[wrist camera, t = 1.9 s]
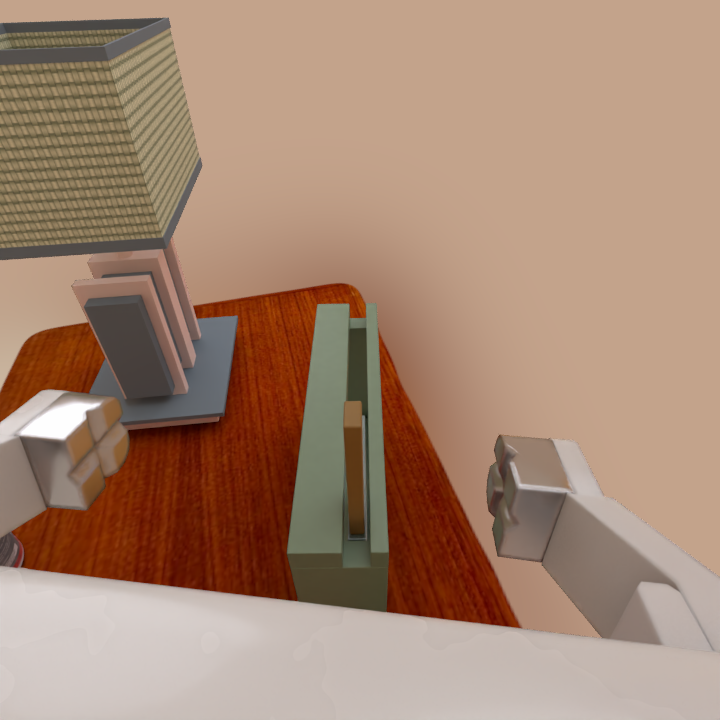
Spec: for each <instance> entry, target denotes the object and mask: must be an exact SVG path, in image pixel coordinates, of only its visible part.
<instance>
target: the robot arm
mask: <svg viewBox="0 0 720 720" xmlns="http://www.w3.org/2000/svg"><path fill="white" fill-rule="evenodd" d="M122 415H123V409H122V406H121V403H120V400H118V399H117V398H115V397H112V396H104V395H96V394H87V393H79V392H68V391H60V390H50V389H49V390H43V391H40V392H39V393H38V394H37V395H35V396H34V397H33V398H31V399H30V400H29V401H28V402H26V403H25V404H24V405H22V406H21V407H20V408H19V409H17V410H16V411H15V412H13V413H12V414H11V415H10V416H8V417H7V418H6V419H4V420H3V421H2V422H1V423H0V538H1V537H3V536H5V535H6V534H8V533H9V532H11V531H13V530H14V529H16V528H17V527H19V526H21V525H22V524H24V523H25V522H27V521H29V520H30V519H32V518H33V517H35V516H37V515H38V514H40V513H41V512H43V511H45V510H46V509H47V508H46V507H52V508H64V509H76V510H88V509H89V508H90V506H91V505H92V504H93V502H94V501H95V500H96V499H97V497H98V496H99V495H100V494H101V492H102V491H103V490H104V489H105V487H106V485H105V478H107V477H109V476H111V475H113V474H115V473H117V472H118V471H119V469H120V468H121V467H122V465H123V464H124V463H125V460H126V457H127V455H128V452H129V441H130V439H129V434H128V430H127V429H126V428H125V427H124V426H123V425H122V424H121V423H120V422H119V420H120V418H121V417H122ZM494 452H495V456H496V462H495V463H494V464H493V465H491V466H490V470H489V474H488V479H487V504H488V510H489V512H490V513H491V514H492V515H493V516H494V517H495V520H494V524H493V528H492V531H493V536H494V540H495V546H496V551H497V556H499V557H506V558H513V559H521V560H527V561H535V562H542V566H543V567H544V568H545V569H546V570H547V572H548V573H549V574H550V575H551V577H552V578H553V579H554V580H555V581H556V583H557V584H558V585H559V586H560V587H561V589H562V590H563V591H564V592H565V594H566V595H567V596H568V597H569V598H570V600H571V601H572V602H573V603H574V604H575V606H576V607H577V608H578V609H579V611H580V612H581V613H582V614H583V615H584V616H585V618H586V619H587V620H588V621H589V623H590V624H591V625H592V626H593V628H594V629H595V630H596V631H597V632H598V634H599V635H600V636H601V637H602V638H597V637H588V636H580V635H572V634H563V633H555V632H547V631H538V630H529V629H522V628H513V627H505V626H497V625H488V624H480V623H471V622H463V621H455V620H446V619H438V618H430V617H422V616H413V615H405V614H397V613H388V612H380V611H372V610H364V609H355V608H347V607H339V606H331V605H322V604H314V603H306V602H298V601H289V600H281V599H273V598H264V597H256V596H248V595H239V594H231V593H223V592H214V591H206V590H198V589H189V588H181V587H172V586H164V585H156V584H147V583H139V582H131V581H122V580H114V579H106V578H97V577H89V576H81V575H72V574H64V573H56V572H47V571H39V570H31V569H22V568H14V567H6V566H0V720H720V577H719V576H718V575H716V574H715V573H714V572H712V571H711V570H710V569H708V568H707V567H706V566H704V565H703V564H701V563H700V562H699V561H697V560H696V559H695V558H693V557H692V556H691V555H689V554H688V553H686V552H685V551H684V550H682V549H681V548H680V547H678V546H677V545H676V544H674V543H673V542H672V541H670V540H669V539H668V538H666V537H665V536H664V535H662V534H661V533H659V532H658V531H657V530H655V529H654V528H653V527H651V526H650V525H649V524H647V523H646V522H644V521H643V520H642V519H640V518H639V517H638V516H637V515H635V514H634V513H632V512H631V511H630V510H628V509H627V508H626V507H624V506H623V505H622V504H620V503H619V502H618V501H616V500H615V499H613V498H609V497H605V496H604V494H603V492H602V490H601V488H600V486H599V484H598V482H597V480H596V478H595V476H594V475H593V472H592V470H591V468H590V466H589V464H588V462H587V460H586V458H585V456H584V455H583V452H582V451H581V449H580V447H579V445H578V443H577V442H575V441H574V440H565V439H551V438H549V439H542V438H530V437H520V436H508V435H499V436H498V438H497V441H496V444H495V448H494Z"/></svg>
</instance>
